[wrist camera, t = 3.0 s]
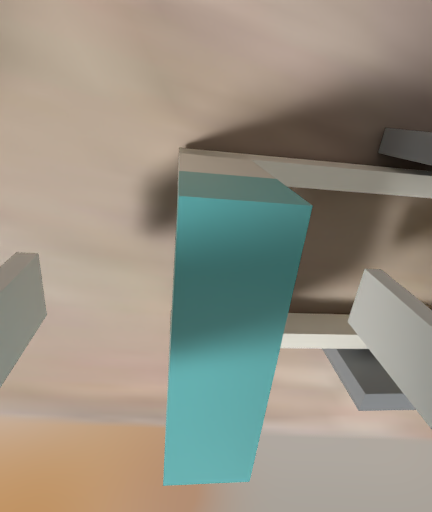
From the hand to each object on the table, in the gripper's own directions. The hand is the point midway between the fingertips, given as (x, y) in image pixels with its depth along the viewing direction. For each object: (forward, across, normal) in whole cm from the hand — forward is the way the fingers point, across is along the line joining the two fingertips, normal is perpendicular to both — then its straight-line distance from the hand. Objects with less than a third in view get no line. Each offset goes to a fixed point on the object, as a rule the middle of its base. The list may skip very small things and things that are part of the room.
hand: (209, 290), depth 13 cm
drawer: (+4, +10, 0) cm, 11 cm away
